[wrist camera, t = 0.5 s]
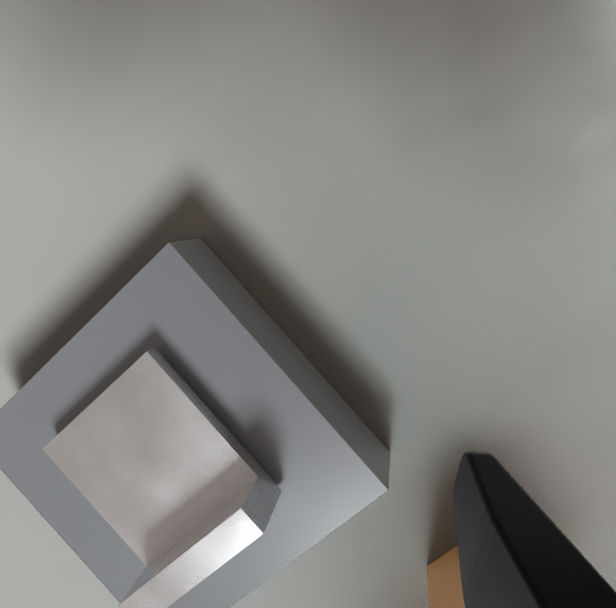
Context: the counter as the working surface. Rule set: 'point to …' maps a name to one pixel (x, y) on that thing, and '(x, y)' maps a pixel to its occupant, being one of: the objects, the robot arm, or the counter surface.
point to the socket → (219, 399)
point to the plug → (445, 581)
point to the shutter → (165, 479)
